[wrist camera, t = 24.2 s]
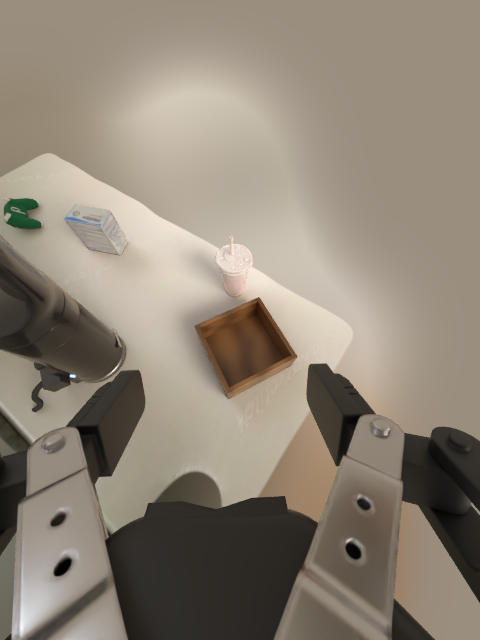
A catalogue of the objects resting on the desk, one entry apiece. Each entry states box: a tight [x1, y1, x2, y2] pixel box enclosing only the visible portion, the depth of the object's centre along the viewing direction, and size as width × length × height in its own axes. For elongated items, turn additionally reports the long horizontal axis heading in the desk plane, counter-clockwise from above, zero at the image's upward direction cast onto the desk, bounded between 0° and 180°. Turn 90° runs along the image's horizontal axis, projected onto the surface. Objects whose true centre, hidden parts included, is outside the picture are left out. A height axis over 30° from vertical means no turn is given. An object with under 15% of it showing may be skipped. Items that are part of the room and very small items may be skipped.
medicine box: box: [65, 205, 128, 255], centre depth 51 cm, size 8×4×9 cm, turn 77°
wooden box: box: [195, 297, 297, 399], centre depth 42 cm, size 12×12×5 cm
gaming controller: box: [4, 197, 41, 228], centre depth 57 cm, size 9×4×6 cm
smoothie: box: [216, 235, 252, 296], centre depth 44 cm, size 6×6×14 cm
